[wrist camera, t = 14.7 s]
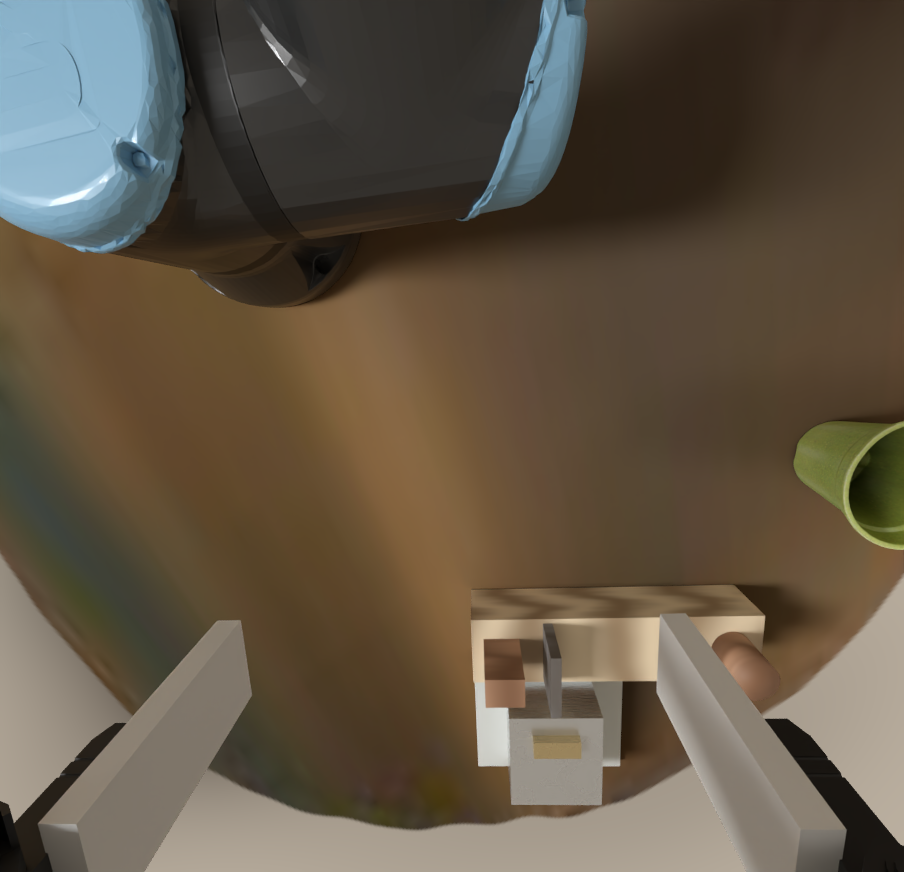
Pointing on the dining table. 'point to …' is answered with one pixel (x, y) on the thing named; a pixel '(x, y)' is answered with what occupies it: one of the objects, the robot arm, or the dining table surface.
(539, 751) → the lever cap
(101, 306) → the dining table surface
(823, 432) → the plant pot
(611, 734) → the rubber mat
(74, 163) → the robot arm
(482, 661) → the hand plane
